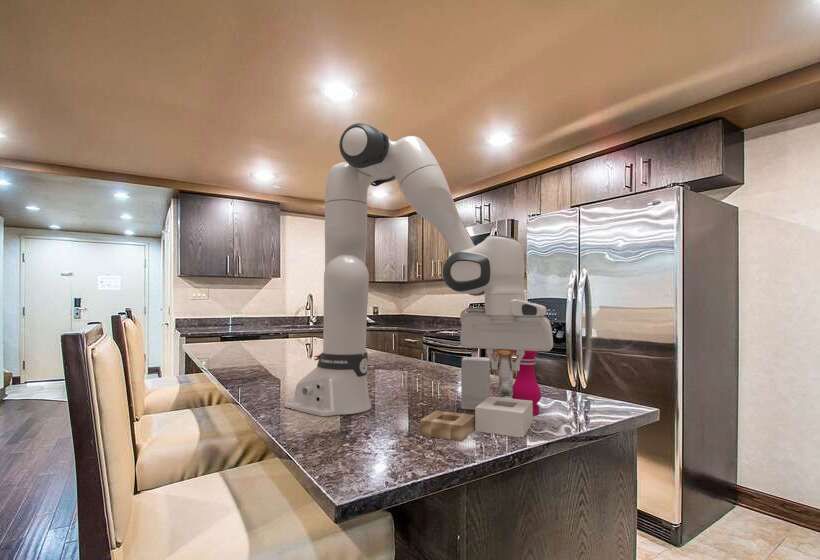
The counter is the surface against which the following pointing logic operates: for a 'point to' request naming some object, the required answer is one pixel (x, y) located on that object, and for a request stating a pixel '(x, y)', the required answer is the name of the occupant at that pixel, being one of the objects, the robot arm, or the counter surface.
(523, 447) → the counter surface
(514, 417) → the dock
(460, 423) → the mount
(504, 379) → the pin
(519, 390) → the pepper mill
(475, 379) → the supplement box
